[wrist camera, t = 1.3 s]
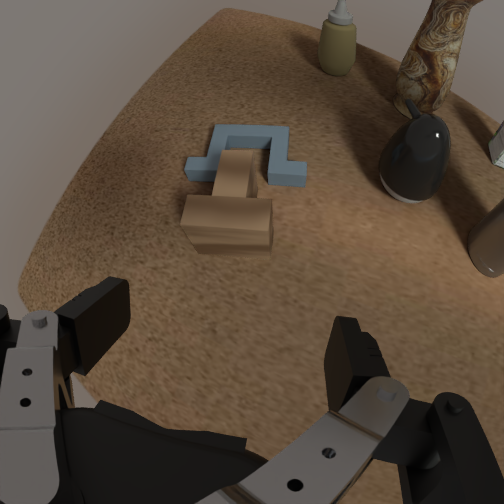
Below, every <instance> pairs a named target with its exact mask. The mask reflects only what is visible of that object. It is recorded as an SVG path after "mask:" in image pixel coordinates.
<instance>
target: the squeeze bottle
mask: <svg viewBox="0 0 504 504" xmlns="http://www.w3.org/2000/svg"><path fill="white" fill-rule="evenodd" d="M352 21H353V16H352V14H350V13H349V12H347V6H346V0H338V2H337V5H336V8H335V10H331V11H330V12H329V15H328V19H326V20H325V21H324V22H323V27H322V32H321V37H320V42H319V47H318V52H317V53H318V58H319V61H320V64H321V67H322V69H323V71H324V72H326V73H328V74H330V75H334V76H343V75H346V74H347V73H348V71H349V70H350V68H351V67H352V65H353V64H354V62H355V60H356V26H355V25H354V24H353V23H352Z"/></svg>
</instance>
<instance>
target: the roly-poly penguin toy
mask: <svg viewBox="0 0 504 504" xmlns="http://www.w3.org/2000/svg"><path fill="white" fill-rule="evenodd" d="M405 104H406V106H407V108H408V110H409V112H410V114H411V116H412V119H411V120H409V121H408V122H406V123H405V124H404V125H402V126H401V127H400V128H399V129H398V130H397V131H396V132H395V133H394V135H393V136H392V137H391V139H390V140H389V141H388V143H387V144H386V146H385V148H384V149H383V151H382V153H381V156H380V158H379V172H380V177H381V181H382V183H383V185H384V187H385V189H386V190H387V191H388V192H389V193H390V194H391V195H392V196H393V197H394V198H396V199H398V200H400V201H402V202H406V203H418V202H421V201H424V200H427V199H429V198H431V197H432V196H433V195H434V194H435V193H436V192H437V190H438V189H439V187H440V185H441V183H442V181H443V179H444V176H445V174H446V171H447V167H448V163H449V157H450V147H451V141H450V133H449V130H448V127H447V125H446V123H445V122H444V121H443V120H442V119H441V118H440V117H438V116H437V115H434V114H431V113H424V114H421V113H420V111H419V110H418V108H417V107H416V106H415V104H414V103H413V101H412V100H411V99H407V100H405Z"/></svg>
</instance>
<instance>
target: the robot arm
mask: <svg viewBox="0 0 504 504" xmlns="http://www.w3.org/2000/svg"><path fill="white" fill-rule="evenodd" d="M468 250H469V254H470V257H471V259H472V261H473V263H474V265H475V266H476V268H477V269H478V270H479V271H480V272H481V273H483V274H484V275H486V276H488V277H493V278H494V277H498V276H500V275H502V274H504V198H503V199H502V200H501V201H500V202H499V203H498V204H497V205H496V206H495V207H494V208H493V209H492V210H491V211H490V212H489V213H488V214H487V215H486V216H485V217H484V218H483V219H482V220H481V221H480V222H479V223H478V224H477V225H476V226H474V227H473V228H472V230H471V231H470V233H469V236H468ZM130 317H131V314H130V293H129V283H128V281H127V280H125V279H120V278H115V277H111V276H110V277H108V278H106V279H105V280H103V281H102V282H100V283H99V284H98V285H96V286H93V287H90V288H88V289H85V290H84V291H83V292H81V293H80V294H78V296H75V297H74V298H73V299H72V300H70V301H68V302H67V303H66V304H64V305H63V306H62V307H60V308H59V309H57V310H56V311H55V312H51V311H47V310H38V311H34V312H31V313H29V314H27V315H25V316H24V317H23V319H22V321H19V320H12V319H9V315H8V311H7V308H6V307H5V306H4V305H1V304H0V504H338V503H339V502H340V501H341V500H342V498H343V497H344V496H345V495H346V494H347V492H348V491H349V490H350V489H351V488H352V486H353V485H354V484H355V483H356V481H357V480H358V479H359V478H360V476H361V475H362V474H363V473H364V471H365V470H366V469H367V467H368V466H369V465H370V463H371V462H372V461H373V459H377V460H381V461H385V462H390V463H394V464H397V466H398V472H399V478H400V485H401V491H402V498H403V504H504V478H503V476H502V473H501V470H500V468H499V465H498V463H497V461H496V458H495V456H494V453H493V451H492V449H491V446H490V444H489V442H488V440H487V437H486V435H485V433H484V431H483V429H482V427H481V425H480V422H479V420H478V418H477V416H476V414H475V412H474V410H473V408H472V406H471V404H470V403H469V402H468V401H467V400H466V399H465V398H464V397H462V396H460V395H458V394H455V393H451V392H444V393H440V394H439V395H437V396H436V398H435V399H434V401H433V403H432V404H431V403H427V402H422V401H418V400H414V399H411V398H409V397H410V395H409V391H408V389H407V388H406V387H405V386H404V385H403V384H402V383H401V382H399V381H397V380H395V379H393V378H391V377H390V374H389V371H388V369H387V366H386V364H385V361H384V359H383V357H382V354H381V351H380V350H379V346H378V344H377V341H376V340H375V339H374V338H373V337H372V336H371V335H370V334H369V333H368V332H361V329H360V326H359V324H358V321H357V319H356V318H351V317H343V316H336V318H335V320H334V323H333V327H332V331H331V334H330V338H329V342H328V345H327V349H326V353H325V358H324V371H325V380H326V389H327V398H328V407H329V411H328V412H327V413H326V414H324V415H323V416H322V417H321V418H320V419H319V420H318V421H317V422H316V423H314V424H313V425H312V426H311V427H310V428H309V429H308V430H307V431H305V432H304V433H303V434H302V435H301V436H299V437H298V438H297V439H296V440H295V441H294V442H292V443H291V444H290V445H289V446H287V447H286V448H285V449H284V450H282V451H281V452H280V453H279V454H277V455H276V456H275V457H274V458H272V459H271V460H270V461H268V460H267V459H265V458H263V457H262V456H260V455H258V454H256V453H254V452H251V451H249V450H246V449H245V447H246V441H247V438H241V437H235V436H229V435H224V434H219V433H214V432H209V431H190V430H173V429H166V428H163V427H161V426H159V425H157V424H155V423H153V422H151V421H150V420H148V419H146V418H144V417H142V416H141V415H139V414H137V413H135V412H134V411H131V410H128V409H125V408H122V407H120V406H117V405H114V404H111V403H108V402H106V401H103V400H100V401H99V403H98V404H97V405H96V407H95V408H84V407H81V408H75V404H74V396H73V388H72V380H71V376H70V374H71V373H72V372H73V371H74V372H76V373H79V374H81V375H84V376H86V375H87V373H88V372H89V371H90V370H91V369H92V368H93V367H94V365H95V364H96V363H97V362H98V361H99V360H100V359H101V358H102V356H103V355H104V354H105V353H106V352H107V351H108V350H109V349H110V348H111V346H112V345H113V344H114V343H115V342H116V341H117V340H118V339H119V338H120V336H121V335H122V334H123V333H124V332H125V331H126V330H127V328H128V326H129V323H130Z"/></svg>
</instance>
